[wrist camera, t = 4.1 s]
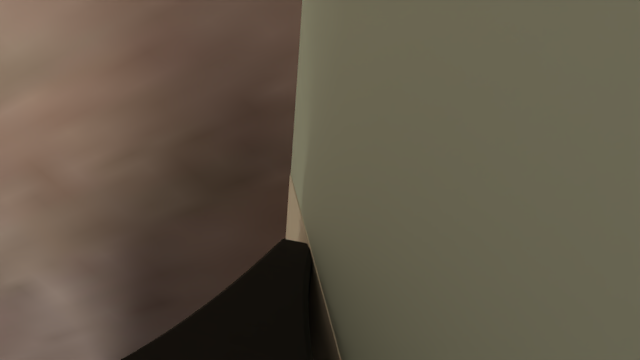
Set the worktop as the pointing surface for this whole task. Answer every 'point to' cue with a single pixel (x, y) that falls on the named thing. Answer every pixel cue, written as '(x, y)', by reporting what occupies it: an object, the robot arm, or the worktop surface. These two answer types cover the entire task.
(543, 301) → the lid
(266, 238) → the worktop surface
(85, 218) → the worktop surface
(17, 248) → the worktop surface
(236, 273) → the worktop surface
